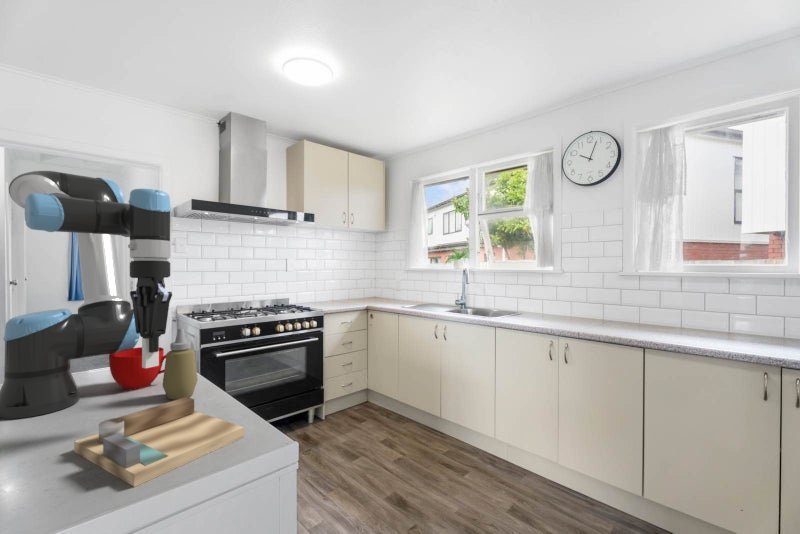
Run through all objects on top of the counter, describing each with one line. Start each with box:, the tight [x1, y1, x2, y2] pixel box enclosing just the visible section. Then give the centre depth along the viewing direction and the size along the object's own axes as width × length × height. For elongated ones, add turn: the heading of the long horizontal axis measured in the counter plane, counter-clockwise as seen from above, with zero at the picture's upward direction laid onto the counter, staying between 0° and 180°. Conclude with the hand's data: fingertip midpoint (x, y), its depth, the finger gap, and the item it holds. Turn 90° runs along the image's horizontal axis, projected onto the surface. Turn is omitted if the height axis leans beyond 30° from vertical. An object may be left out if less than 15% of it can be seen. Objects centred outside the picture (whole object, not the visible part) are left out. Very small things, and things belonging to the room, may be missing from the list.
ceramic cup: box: [108, 346, 166, 390], centre depth 109 cm, size 13×17×10 cm
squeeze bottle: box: [162, 328, 198, 400], centre depth 100 cm, size 8×8×18 cm
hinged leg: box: [98, 397, 195, 443], centre depth 76 cm, size 17×4×3 cm, turn 150°
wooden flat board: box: [73, 410, 245, 488], centre depth 73 cm, size 22×20×5 cm
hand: (150, 366), depth 83 cm, fingers closed
